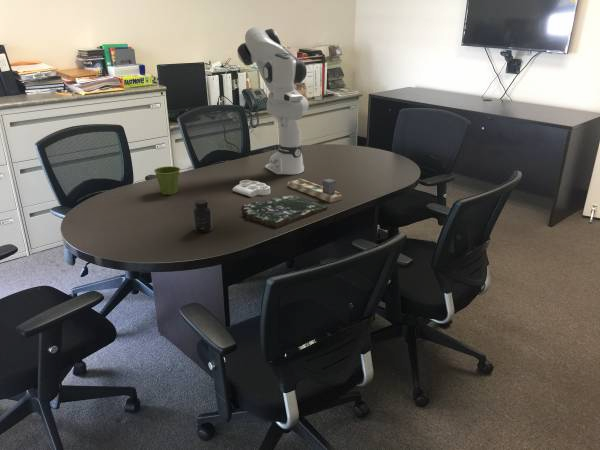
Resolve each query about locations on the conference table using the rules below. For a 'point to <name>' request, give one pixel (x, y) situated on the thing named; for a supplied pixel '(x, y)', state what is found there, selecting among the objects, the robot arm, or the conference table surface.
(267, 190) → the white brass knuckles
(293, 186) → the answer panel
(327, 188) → the grey rectangular block
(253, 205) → the floral canvas painting
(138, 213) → the conference table surface
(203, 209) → the supplement bottle
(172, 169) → the plant pot
